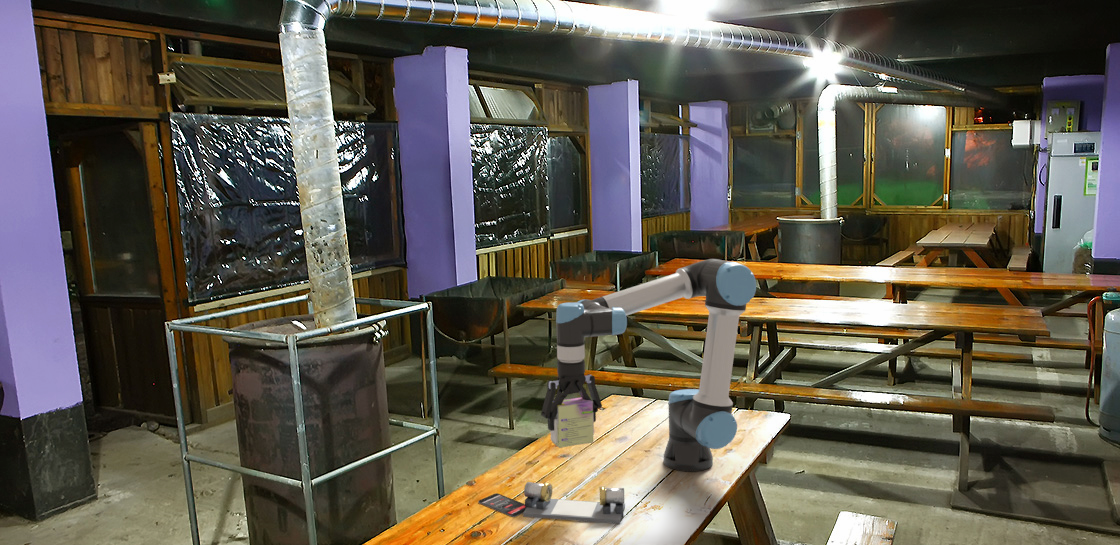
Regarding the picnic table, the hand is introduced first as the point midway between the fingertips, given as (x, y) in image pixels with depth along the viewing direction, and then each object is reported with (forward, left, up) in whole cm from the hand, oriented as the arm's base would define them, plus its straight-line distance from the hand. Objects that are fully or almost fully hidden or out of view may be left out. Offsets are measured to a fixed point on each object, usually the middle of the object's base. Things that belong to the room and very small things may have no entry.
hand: (572, 437), depth 211 cm
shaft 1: (+9, +7, -18) cm, 21 cm away
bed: (-2, +7, -18) cm, 20 cm away
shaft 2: (-12, +7, -18) cm, 23 cm away
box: (0, 0, -2) cm, 2 cm away
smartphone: (+18, +6, -19) cm, 27 cm away
